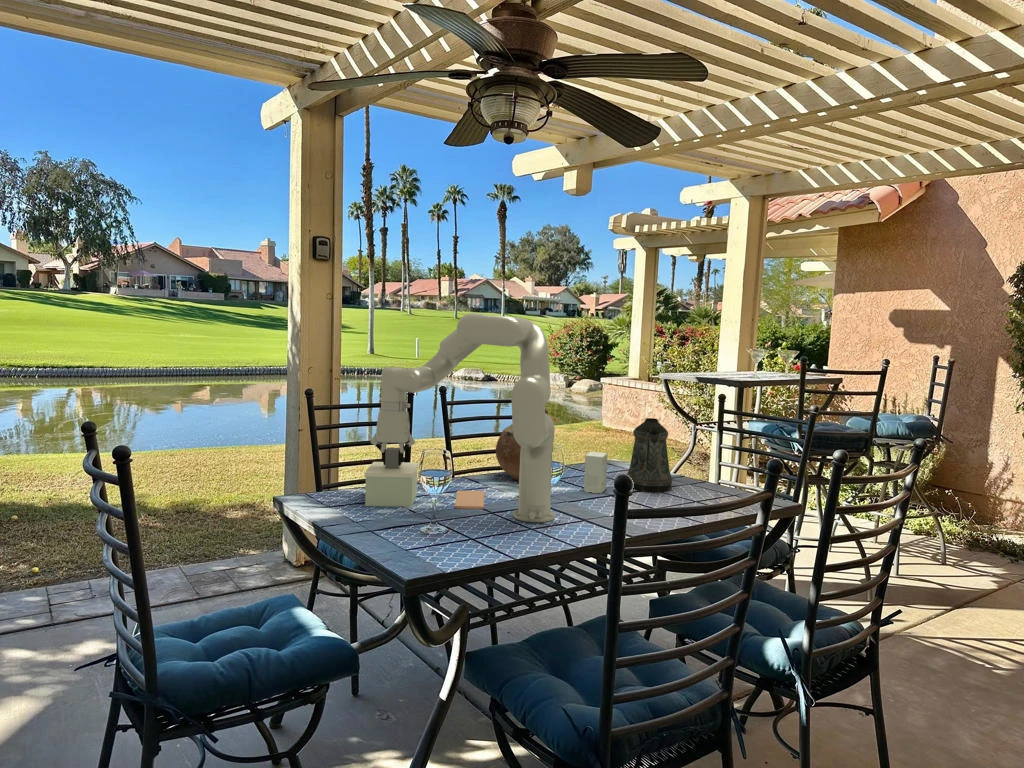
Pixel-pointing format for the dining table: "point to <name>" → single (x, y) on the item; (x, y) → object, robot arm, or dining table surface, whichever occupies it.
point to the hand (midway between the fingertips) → (392, 464)
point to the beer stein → (650, 458)
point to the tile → (469, 500)
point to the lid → (391, 466)
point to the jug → (509, 452)
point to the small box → (595, 472)
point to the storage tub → (391, 491)
